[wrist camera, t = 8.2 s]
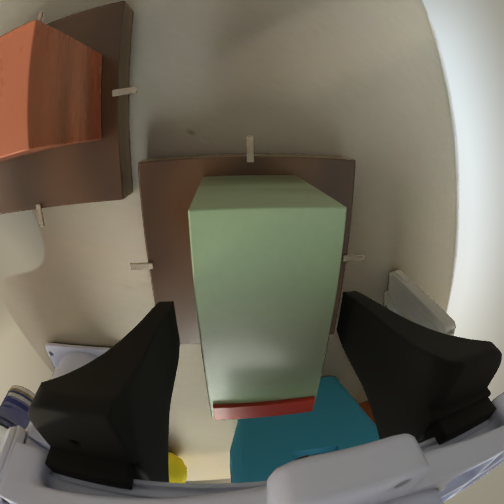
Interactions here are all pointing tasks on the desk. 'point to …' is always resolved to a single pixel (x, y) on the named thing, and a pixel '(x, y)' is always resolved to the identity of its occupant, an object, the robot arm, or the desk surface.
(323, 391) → the block
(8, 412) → the pill bottle
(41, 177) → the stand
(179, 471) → the lemon
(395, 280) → the cassette
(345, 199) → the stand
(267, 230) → the green box
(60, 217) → the desk surface
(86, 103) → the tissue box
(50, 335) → the desk surface
